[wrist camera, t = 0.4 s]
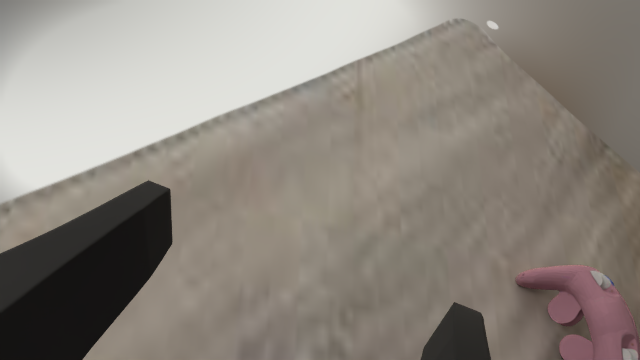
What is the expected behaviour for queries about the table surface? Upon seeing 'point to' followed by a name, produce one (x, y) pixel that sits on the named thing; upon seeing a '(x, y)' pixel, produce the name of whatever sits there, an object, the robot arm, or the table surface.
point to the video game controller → (587, 312)
